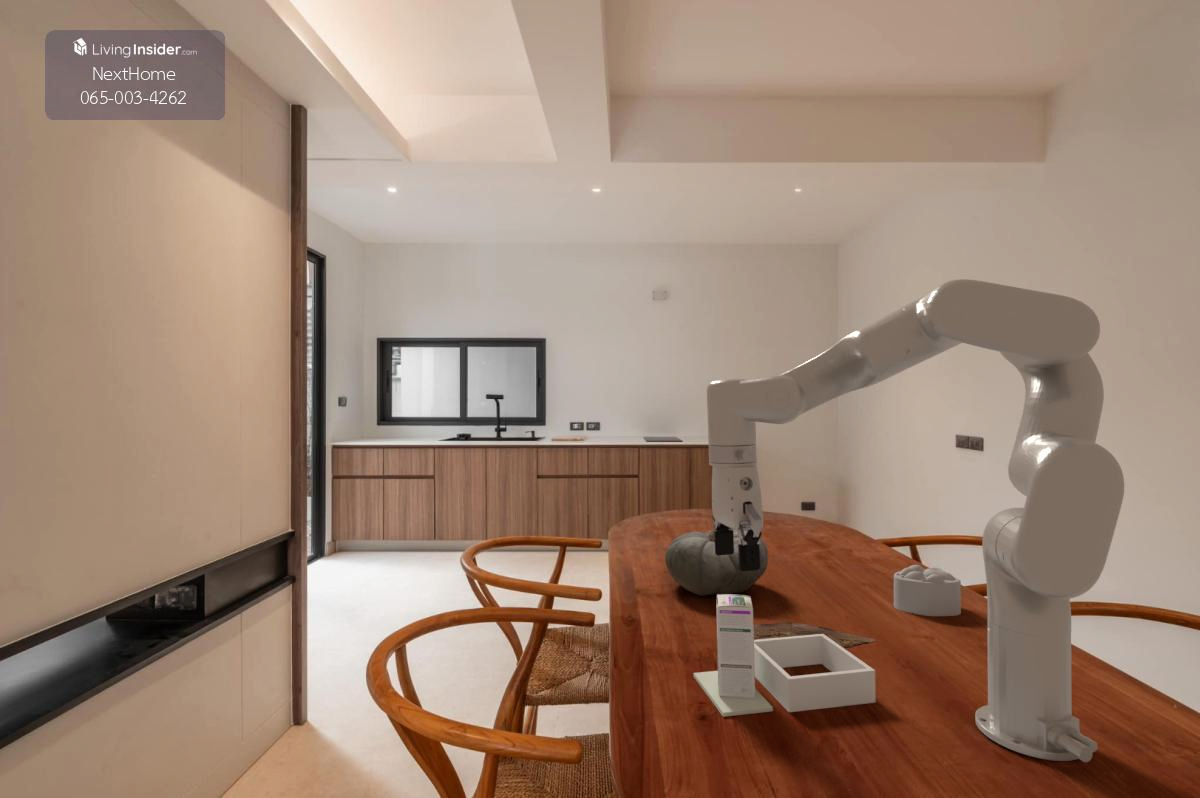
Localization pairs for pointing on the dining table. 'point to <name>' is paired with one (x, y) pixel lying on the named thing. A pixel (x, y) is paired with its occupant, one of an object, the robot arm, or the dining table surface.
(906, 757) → the dining table surface
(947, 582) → the lumpy-topped squat cylinder
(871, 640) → the wooden fragment
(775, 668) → the square frame
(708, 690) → the mat
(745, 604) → the syrup box
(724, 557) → the gourd
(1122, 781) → the dining table surface
